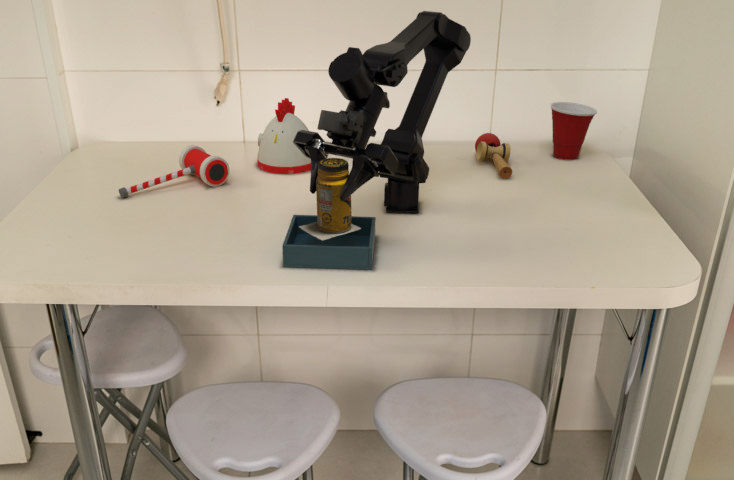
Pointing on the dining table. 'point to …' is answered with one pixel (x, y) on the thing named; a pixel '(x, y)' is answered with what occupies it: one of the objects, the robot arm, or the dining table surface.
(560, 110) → the plastic cup
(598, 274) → the dining table surface
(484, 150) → the kendama
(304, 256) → the tote
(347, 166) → the condiment
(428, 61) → the robot arm
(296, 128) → the kitchen timer
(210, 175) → the toy hammer
